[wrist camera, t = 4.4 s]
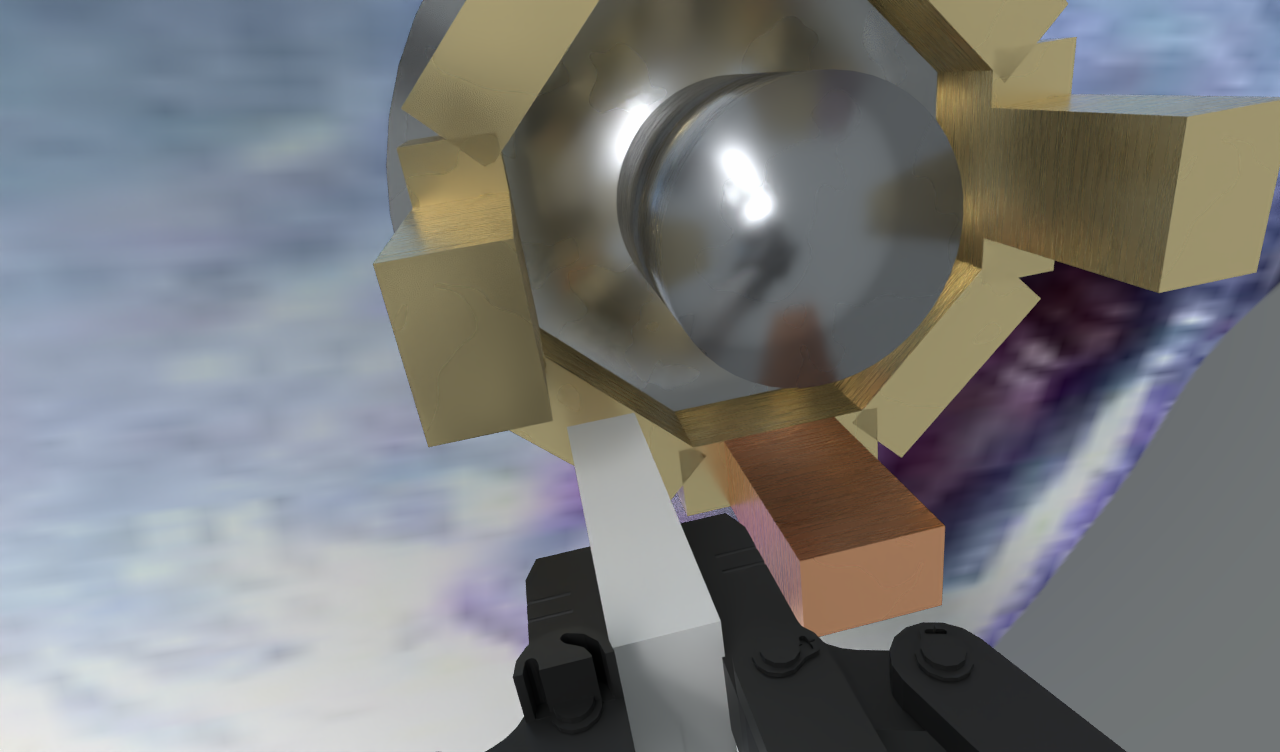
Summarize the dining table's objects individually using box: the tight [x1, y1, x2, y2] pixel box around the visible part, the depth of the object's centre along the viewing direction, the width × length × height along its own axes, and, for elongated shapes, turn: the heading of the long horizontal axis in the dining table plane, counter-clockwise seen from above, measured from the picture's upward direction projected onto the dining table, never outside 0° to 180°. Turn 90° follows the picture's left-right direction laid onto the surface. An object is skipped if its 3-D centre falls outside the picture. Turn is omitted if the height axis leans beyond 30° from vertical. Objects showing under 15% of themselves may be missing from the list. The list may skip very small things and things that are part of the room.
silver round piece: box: [386, 0, 964, 411], centre depth 16 cm, size 17×17×7 cm
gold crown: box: [373, 0, 1280, 637], centre depth 15 cm, size 15×15×7 cm
